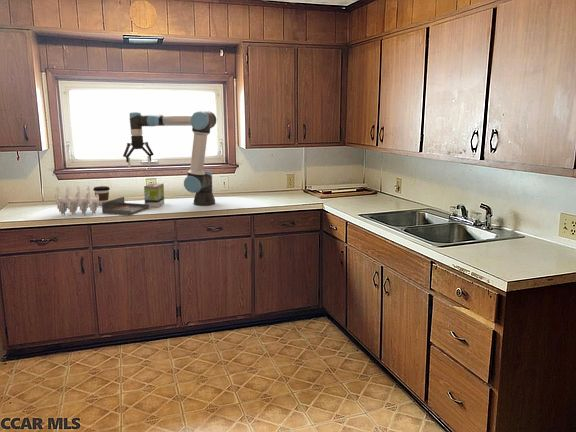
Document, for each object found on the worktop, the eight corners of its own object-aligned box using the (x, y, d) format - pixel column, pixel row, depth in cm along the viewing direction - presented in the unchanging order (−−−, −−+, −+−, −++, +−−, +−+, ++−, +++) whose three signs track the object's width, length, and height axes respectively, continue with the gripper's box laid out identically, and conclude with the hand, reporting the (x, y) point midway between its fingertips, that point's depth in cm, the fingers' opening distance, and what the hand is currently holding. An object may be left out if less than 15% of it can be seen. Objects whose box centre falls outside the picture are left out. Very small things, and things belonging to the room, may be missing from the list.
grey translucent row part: (97, 220, 302) (55, 220, 297) (101, 204, 316) (60, 203, 310) (94, 197, 291) (50, 196, 286) (98, 181, 305) (56, 180, 299)
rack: (148, 208, 319) (148, 198, 318) (129, 215, 299) (129, 204, 297) (122, 206, 325) (122, 196, 323) (102, 213, 304) (101, 202, 302)
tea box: (159, 207, 323) (158, 186, 320) (144, 207, 323) (143, 186, 320) (164, 203, 338) (163, 182, 334) (150, 203, 337) (149, 182, 334)
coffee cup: (105, 206, 327) (104, 188, 324) (91, 205, 329) (89, 188, 327) (114, 203, 337) (112, 186, 335) (100, 202, 340) (98, 185, 337)
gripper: (153, 134, 334) (155, 164, 339) (116, 135, 321) (119, 167, 325) (156, 134, 328) (158, 165, 333) (119, 136, 315) (122, 168, 319)
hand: (139, 166), depth 329 cm, fingers open, 13 cm apart
